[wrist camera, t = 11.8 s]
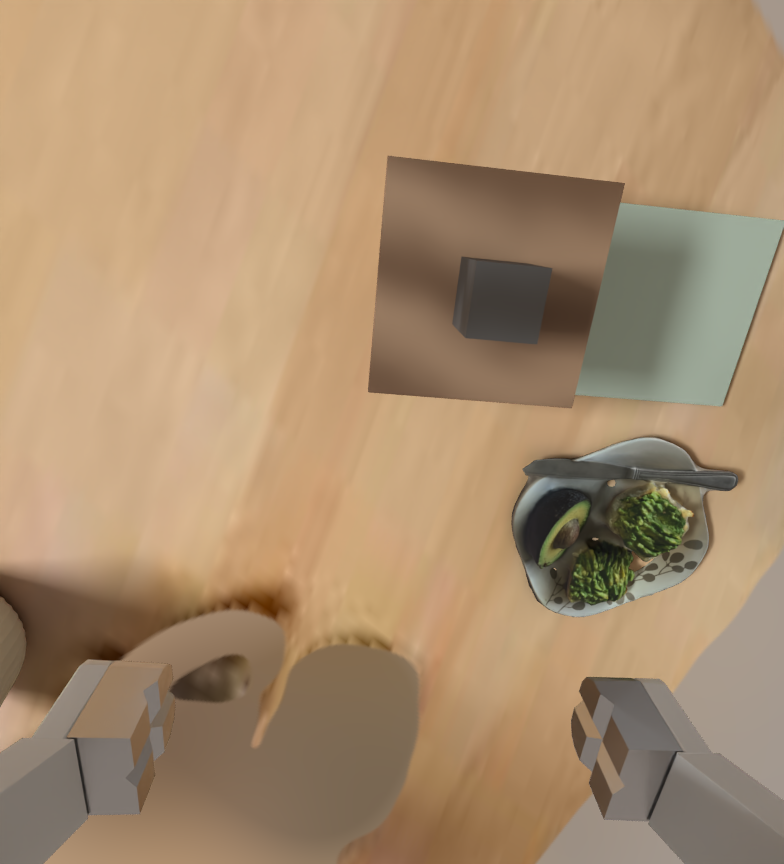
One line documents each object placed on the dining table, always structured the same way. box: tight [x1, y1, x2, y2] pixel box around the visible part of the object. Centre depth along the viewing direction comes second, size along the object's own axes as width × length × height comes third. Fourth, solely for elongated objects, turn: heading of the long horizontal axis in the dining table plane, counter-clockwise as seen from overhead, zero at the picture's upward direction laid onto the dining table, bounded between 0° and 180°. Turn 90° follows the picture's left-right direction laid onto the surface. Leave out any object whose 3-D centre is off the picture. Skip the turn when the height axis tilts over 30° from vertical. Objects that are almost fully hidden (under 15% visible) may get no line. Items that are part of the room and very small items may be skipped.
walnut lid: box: [368, 156, 625, 408], centre depth 26 cm, size 12×12×5 cm
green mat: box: [575, 203, 784, 406], centre depth 39 cm, size 14×14×1 cm
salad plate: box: [512, 437, 738, 617], centre depth 44 cm, size 19×18×5 cm
